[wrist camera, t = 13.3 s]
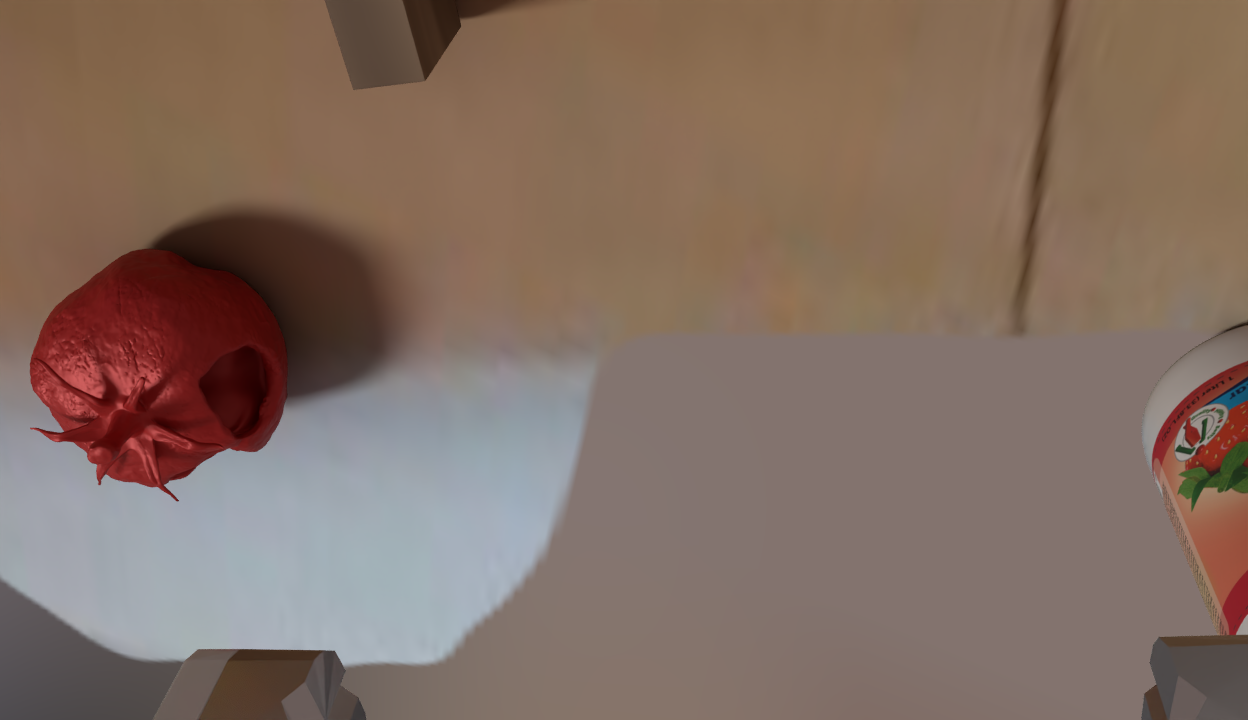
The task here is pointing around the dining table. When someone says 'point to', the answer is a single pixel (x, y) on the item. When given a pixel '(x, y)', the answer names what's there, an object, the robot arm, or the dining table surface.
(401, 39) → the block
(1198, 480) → the fruit juice
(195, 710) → the robot arm
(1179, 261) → the dining table surface
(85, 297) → the pomegranate
